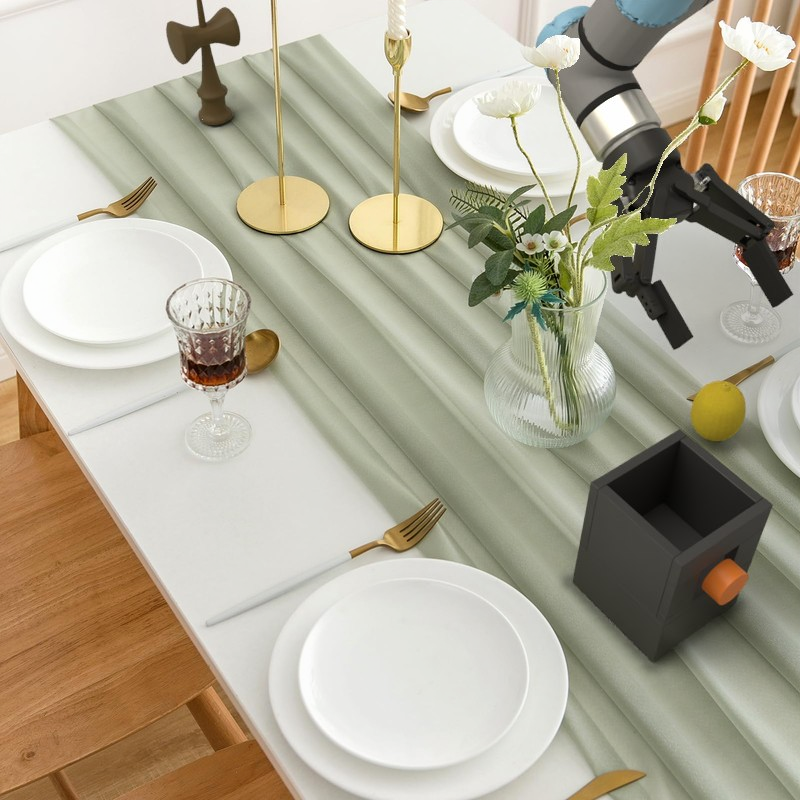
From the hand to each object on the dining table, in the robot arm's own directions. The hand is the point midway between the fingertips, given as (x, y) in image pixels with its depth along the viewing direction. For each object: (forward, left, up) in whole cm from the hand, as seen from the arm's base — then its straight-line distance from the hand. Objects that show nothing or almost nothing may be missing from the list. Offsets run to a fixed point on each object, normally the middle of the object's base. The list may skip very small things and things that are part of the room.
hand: (734, 322), depth 108 cm
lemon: (-1, +1, -16) cm, 16 cm away
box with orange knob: (+7, +22, -16) cm, 28 cm away
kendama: (+66, -60, -16) cm, 91 cm away
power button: (+3, +27, -8) cm, 28 cm away
